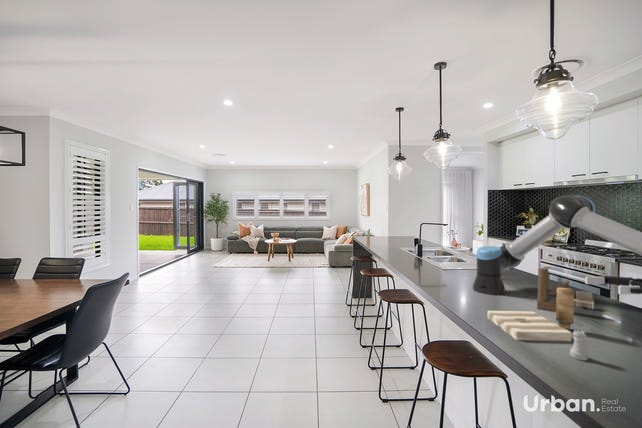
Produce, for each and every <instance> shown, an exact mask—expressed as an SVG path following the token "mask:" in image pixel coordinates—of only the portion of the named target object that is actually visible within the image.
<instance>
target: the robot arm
mask: <svg viewBox="0 0 642 428" xmlns="http://www.w3.org/2000/svg"><path fill="white" fill-rule="evenodd" d="M548 209H549V210H548V212H549V213H548V215H547V216H546V217H543V219H542V220H541V221H539V222H538V223H536V224H535V225H534V226H532V227H531V228H529V229H528V230H526V231H525V232H524V233H523V234H521V235H520V236H519V237H517V238H515V239H514V240H513V241H506V242H505V243H504V244H502V245H501V246H497V245H496V246H494V245H488V246H486V245H485V246H481V247H478V248H477V250H476V276H475V279H474V280H473V283H472V289H473V290H474V291H475V292H477V293H481V294H487V295H504V294H505V293H506V287H505V284H504V281H503V278H502V270H509V269H514V268H516V267H518V266H520V265H521V263H522V261H523V260H525V258H526V254H528V253H529V252H531V251H532V250H534V249H536V248H537V247H538V246H540V245H542V244H543V243H545V242H547V240H549V239H551V238H552V237H553V236H555V235H556V234H558V233H560V232H561V231H562V230H563V229H572V228H576V227H578V228H580V229H582V230H584V231H586V232H588V233H591V234H594V235H595V236H598V237H600V238H602V239H604V240H607V241H609V242H611V243H613V244H615V245H617V246H620V247H622V248H624V249H626V250H628V251H631V252H632V253H634V254H637V255H639V256H641V257H642V232H641V231H639V230H636V229H634V228H633V227H630V226H627V225H625V224H622V223H620V222H617V221H616V220H613V219H610V218H608V217H605V216H603V215H600V214H598V213H596V205H595V204H594V202H593V201H592V200H591V199H590V198H588V197H586V196H582V195H561V196H558V197H556V198H554V199H553V200H552V201H551V202H550V204H549V207H548ZM584 280H585V284H586V285H601V286H604V285H606V284H607V285H616V286H617V289H618V290H617V294H618V295H642V278H633V277H632V276H631V277H624V276H613V275H612V276H611V275H601V274H600V275H598V276H585V279H584Z"/></svg>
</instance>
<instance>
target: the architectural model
mask: <svg viewBox="0 0 642 428" xmlns="http://www.w3.org/2000/svg"><path fill="white" fill-rule="evenodd" d="M574 303H575V306H576V307H580V308H586V309H592V310H594V309H595V307H594V306H595V299H594V298H593V292H589V291H582V290H581V291H580V290H576V296H575V298H574Z"/></svg>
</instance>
